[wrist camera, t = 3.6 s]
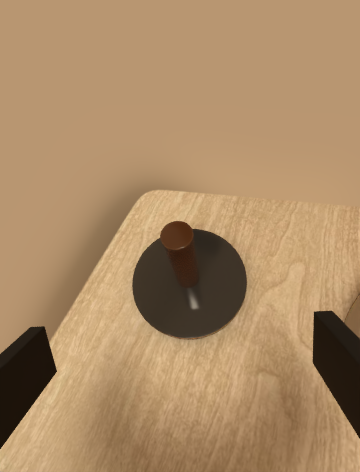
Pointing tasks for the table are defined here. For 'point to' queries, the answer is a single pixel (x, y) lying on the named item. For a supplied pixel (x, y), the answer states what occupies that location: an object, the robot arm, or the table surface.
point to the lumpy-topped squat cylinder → (354, 317)
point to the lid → (189, 282)
